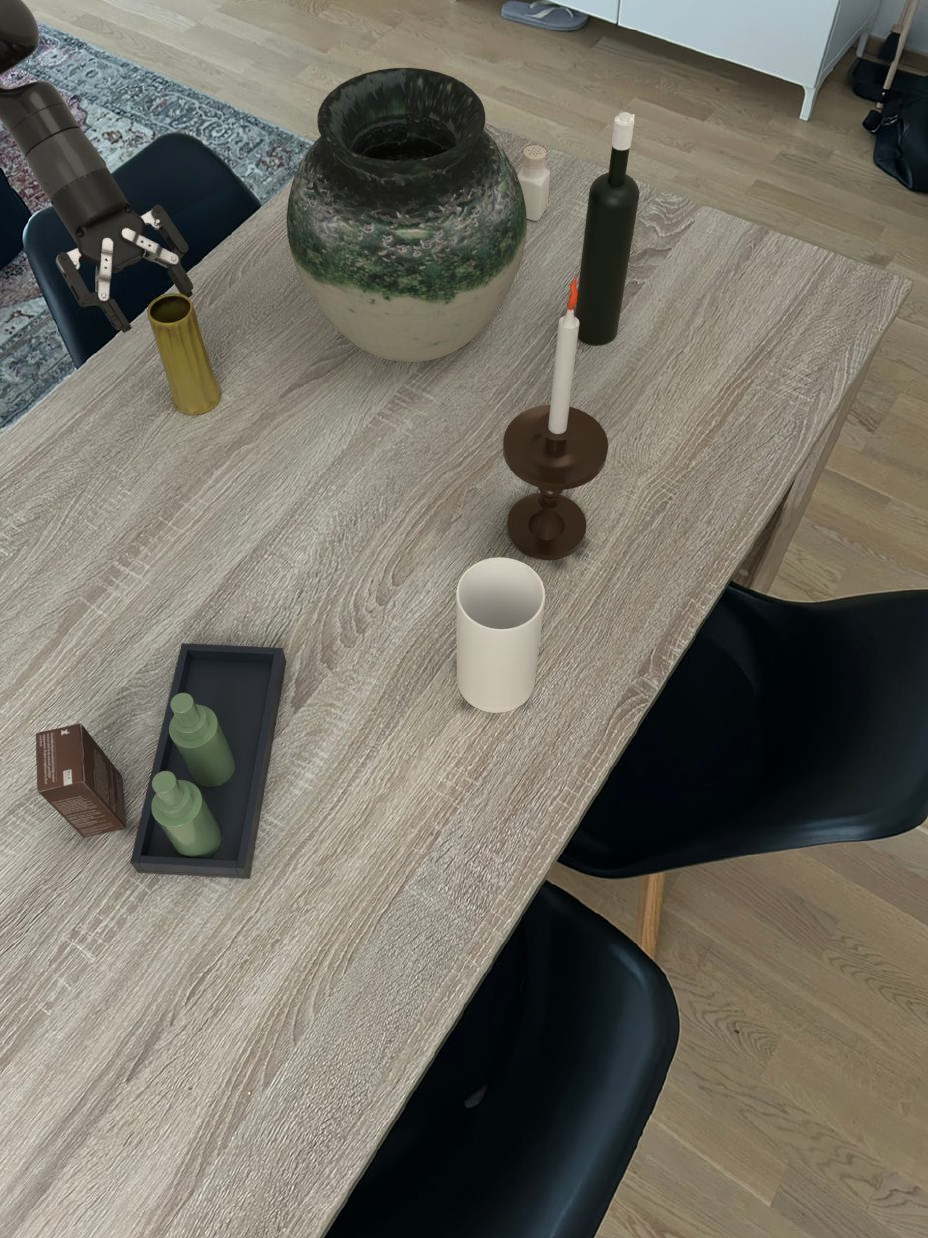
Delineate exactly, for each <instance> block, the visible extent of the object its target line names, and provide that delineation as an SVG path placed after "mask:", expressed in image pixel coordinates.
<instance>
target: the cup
mask: <svg viewBox="0 0 928 1238" xmlns="http://www.w3.org/2000/svg"><path fill="white" fill-rule="evenodd" d="M545 604H546V591H545V586H544V583H543V581H542V578H541V576H539V574H538V573H537V572H536V571H535V570H534V569H533V568H532V567H530V566H529V565H528V564H526V563H524V562H523V561H520V560H517V559H515V558H509V557H501V556H500V557H489V558H485V559H482V560H480V561H477V562H476V563H474V564H473V565H471V566H470V567H468V568H467V569H466V570H465V571H464V572H463V574H462V575H461V576H460V578H459V580H458V582H457V586H456V591H455V627H456V628H455V629H456V630H455V631H456V633H455V636H456V640H455V641H456V683H457V687H458V690H459V693H460V694H461V696H462V697H463V698H464V700H466V702H467V703H468V704H470V705H471V706H472V707H474V708H475V709H478V710H480V711H483V712H484V713H485V712H486V713H492V714H502V713H507V712H511V711H513V710H516V709H518V708H520V707H521V706H522V705H524V704H525V703H526V702H527V701H528V700H529V699H530V697H531V695H532V694H533V691H534V689H535V685H536V678H537V670H538V662H539V655H540V654H539V653H540V645H541V638H542V637H541V636H542V629H543V620H544V612H545V606H546V605H545Z"/></svg>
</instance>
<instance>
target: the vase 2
mask: <svg viewBox="0 0 928 1238" xmlns="http://www.w3.org/2000/svg"><path fill="white" fill-rule="evenodd" d="M485 111H486V110H485V107H484V103H483V102H482V100H481V98H480V97H479V95H478V94H477V93H476V92H475V90H473V89H472V88H471V87H469V86H468V85H467V84H466V83H464V82H463V81H461V80H459V79H457V78H456V77H453V76H450V75H448V74H445V73H443V72H440V71H436V70H431V69H426V68H417V67H391V68H383V69H376V70H373V71H368V72H365V73H361V74H359V75H357V76H354V77H351V78H349V79H348V80H345V81H343V83H341V84H339V85H337V86H336V87H335V88H334V89H333V90H331V91H330V92H329V93H328V95H327V96H326V97H325V98H324V99H323V100H322V102H321V104H320V106H319V108H318V112H317V117H316V118H317V120H316V121H317V130H318V133H319V135H320V136H319V137H318V138H317V139H316V140H315V141H314V142H313V144H312V145H311V146H310V147H309V149H308V151H306V153H305V154H304V155H303V158H302V159H301V160H300V163H299V166H298V168H297V169H296V171H295V175H294V177H293V179H292V182H291V187H290V191H289V195H288V198H287V208H286V232H287V240H288V245H289V249H290V254H291V258H292V260H293V264H294V266H295V269H296V271H297V273H298V276H299V278H300V280H301V282H302V283H303V286H304V287H305V289H306V291H307V293H308V295H309V296H310V298H311V299H312V301H313V302H314V304H315V305H316V306H317V308H318V309H319V310H320V312H321V313H322V314H323V316H324V317H325V318H326V319H327V321H329V323H330V324H331V325H332V326H333V327H334V328H335V329H336V330H337V331H338V332H339V333H340V334H341V336H343V337H344V338H346V339H347V340H348V341H349V342H350V343H352V344H353V345H355V346H356V347H358V348H359V349H361V350H363V351H364V352H366V353H368V354H371V355H373V356H375V357H377V358H381V359H384V360H388V361H393V362H400V363H420V362H421V363H423V362H426V361H427V362H428V361H432V360H437V359H441V358H443V357H445V356H446V357H447V356H449V355H451V354H452V353H455V352H457V351H458V350H459V349H461V348H463V347H464V346H466V345H468V344H469V343H470V342H471V341H472V340H473V339H475V338H476V337H477V336H478V335H479V334H480V333H481V332H482V331H483V330H484V329H485V328H486V326H487V325H488V324H489V323H490V322H491V320H492V319H493V318H494V316H495V314H496V313H497V311H499V309H500V307H501V306H502V304H503V303H504V300H506V297H507V296H508V294H509V292H510V290H511V288H512V285H514V284H513V283H514V281H515V279H516V277H517V274H518V272H519V268H520V266H521V263H522V259H523V255H524V251H525V247H526V240H527V229H528V219H527V216H526V205H525V200H524V196H523V191H522V187H521V185H520V182H519V179H518V177H517V175H518V173H517V172H516V169H515V167H514V165H513V163H511V160H510V159H509V157H508V155H507V153H506V152H505V150H504V149H503V148H502V147H501V145H499V143H497V141H496V140H495V139H494V138H493V137H492V136H491V135H490V134H489V133H488V132H487V131H486V130H484V129H485V125H486V119H487V118H486V112H485Z"/></svg>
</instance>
